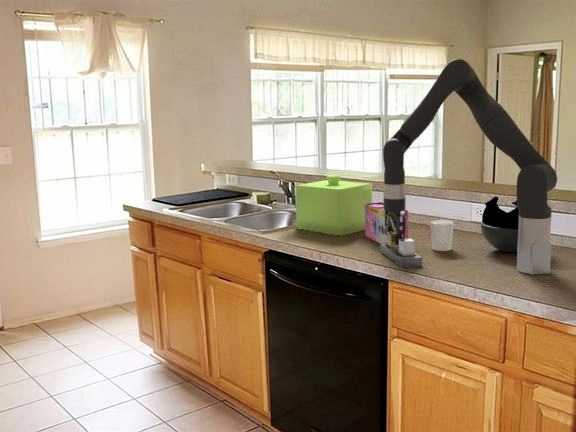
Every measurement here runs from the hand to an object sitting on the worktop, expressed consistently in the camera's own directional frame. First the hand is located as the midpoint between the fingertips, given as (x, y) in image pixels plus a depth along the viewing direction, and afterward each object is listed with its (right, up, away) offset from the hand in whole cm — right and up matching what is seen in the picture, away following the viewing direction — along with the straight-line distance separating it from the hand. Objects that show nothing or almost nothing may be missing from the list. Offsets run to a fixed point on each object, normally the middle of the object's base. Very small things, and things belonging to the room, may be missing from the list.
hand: (394, 242), depth 209 cm
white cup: (+18, -3, +7) cm, 20 cm away
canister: (-17, +4, +49) cm, 52 cm away
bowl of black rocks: (+41, -4, 0) cm, 41 cm away
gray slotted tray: (+1, -6, -5) cm, 8 cm away
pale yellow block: (0, -5, +1) cm, 5 cm away
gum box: (+1, -1, +22) cm, 22 cm away
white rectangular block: (+2, -7, -11) cm, 13 cm away
